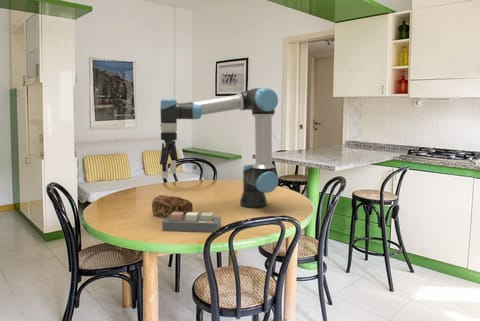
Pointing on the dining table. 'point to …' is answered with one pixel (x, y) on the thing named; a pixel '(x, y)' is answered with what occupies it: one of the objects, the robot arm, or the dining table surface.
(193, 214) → the key cream
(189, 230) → the keypad board
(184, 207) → the bread
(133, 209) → the dining table surface
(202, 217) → the key sage
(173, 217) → the key terracotta
